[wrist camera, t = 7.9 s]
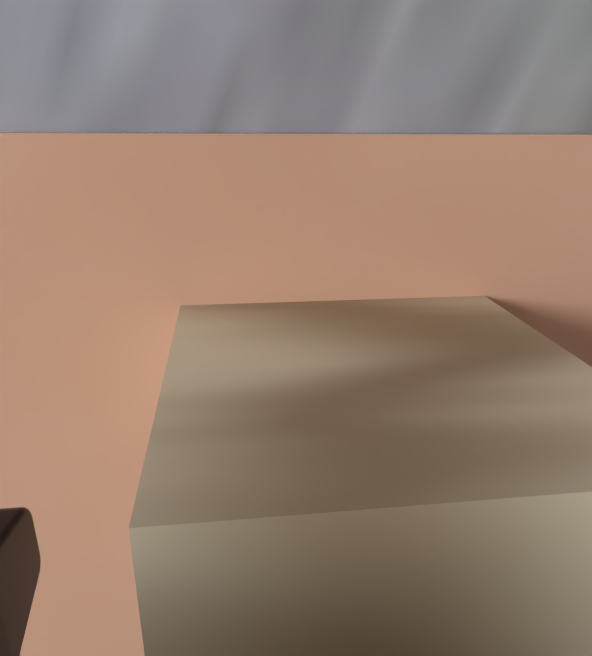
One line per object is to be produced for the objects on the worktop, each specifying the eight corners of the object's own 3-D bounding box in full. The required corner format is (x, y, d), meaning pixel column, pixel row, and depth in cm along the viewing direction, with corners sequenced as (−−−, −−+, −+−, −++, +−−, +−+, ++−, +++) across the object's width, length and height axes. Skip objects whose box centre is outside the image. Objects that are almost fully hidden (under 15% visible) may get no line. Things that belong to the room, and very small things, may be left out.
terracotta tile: (682, 134, 9) (711, 135, 9) (572, 587, 13) (587, 608, 12) (-84, 132, 8) (-107, 132, 7) (34, 643, 11) (24, 670, 11)
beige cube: (484, 295, 9) (759, 477, 4) (449, 546, 11) (616, 858, 6) (180, 304, 8) (128, 528, 4) (199, 569, 10) (180, 932, 6)
